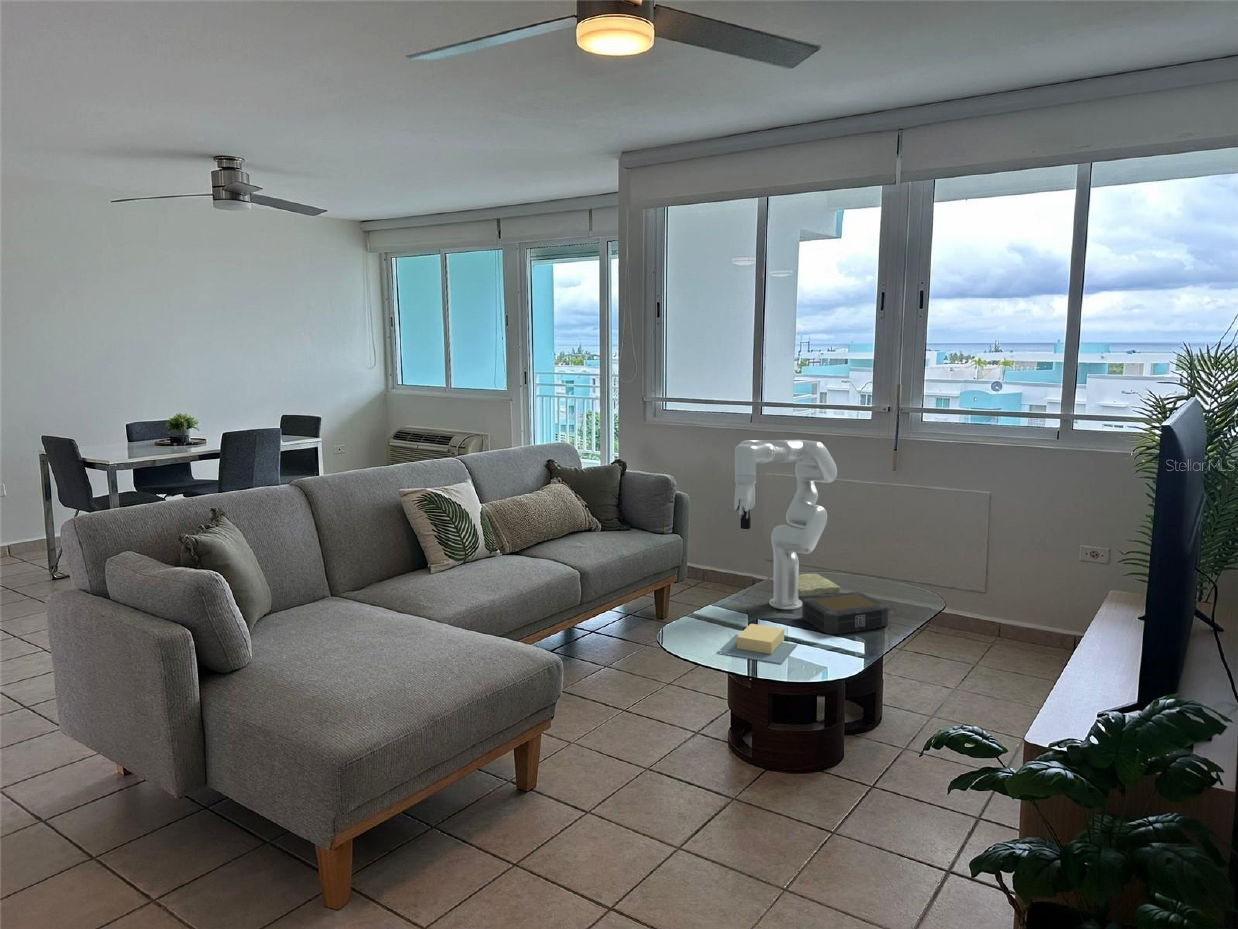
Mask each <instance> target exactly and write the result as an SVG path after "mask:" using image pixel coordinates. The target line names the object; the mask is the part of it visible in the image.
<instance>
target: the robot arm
mask: <svg viewBox="0 0 1238 929" xmlns="http://www.w3.org/2000/svg"><path fill="white" fill-rule="evenodd" d="M770 462H771V463H782V464H783V463H796V464H795V468H794V470H795V471H794V472H795V477H796V483H797V488H796V489H797V490H796V492H795V495H794V496H793V499H792V500H791V502H790V504H789V507H788V508H787V511H786V514H785V519H786V522H787V523H788V524H789V525H788V524H780V525H776V526H775V527H774V528H773V529H772V531H771V535H770V539H771V540H770V541H771V546H772V551H773V598H771V599H770V600H768V601H769V606H771V607H773V608H774V609H779V610H780V609H781V610H798V609H800V608H802V600H801V599H799V596H798V585H799V575H800V574H799V569H800V568H799V567H800V566H799V565H800V563H799V562H800V560H799V557H798V554H803V555H804V554H805V555H808V554H811V553H812V552H813V551H814V549H816V546H817V544H818V543H819V540H820V538H821V535H822V534H823V532H824V530H825V528H826V526H827V522H828V513H827V512H828V511H827V510H826V508H824V507H823V506H821V505H820V504H816V503H817V501H818V499H819V493H818V490H817V486H816V485H815V482H816V483H817V482H818V483H823V484H824V483H826V484H827V483H828V484H829V483H832V482H834V481H835V480H836V479H837V475H838V468H837V467H838V466H837V465H836V462H835V460H834V458H833V457H832V455H831V454H830V452H829V450H828V448H827V447H826V446H825V445H824V444H823V443H822V442H821V441H815V440H808V439H769V440H767V439H766V440H761V439H760V440H757V439H756V440H753V439H752V440H751V439H750V440H746V439H745V440H742V441H741V442H740V443H739V444H738V445H736V446H735V449H734V483H735V489H734V501H733V503H734V504H733V506H734V508H733V510H734V511H738V515H739V516H740V529H741V530H750V529H751V526H752V525H751V524H752V523H751V516H752V510H753V508H754V507H755V505H756V485H755V484H756V483H757V465H758V464H768V463H770ZM797 553H798V554H797Z"/></svg>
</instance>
